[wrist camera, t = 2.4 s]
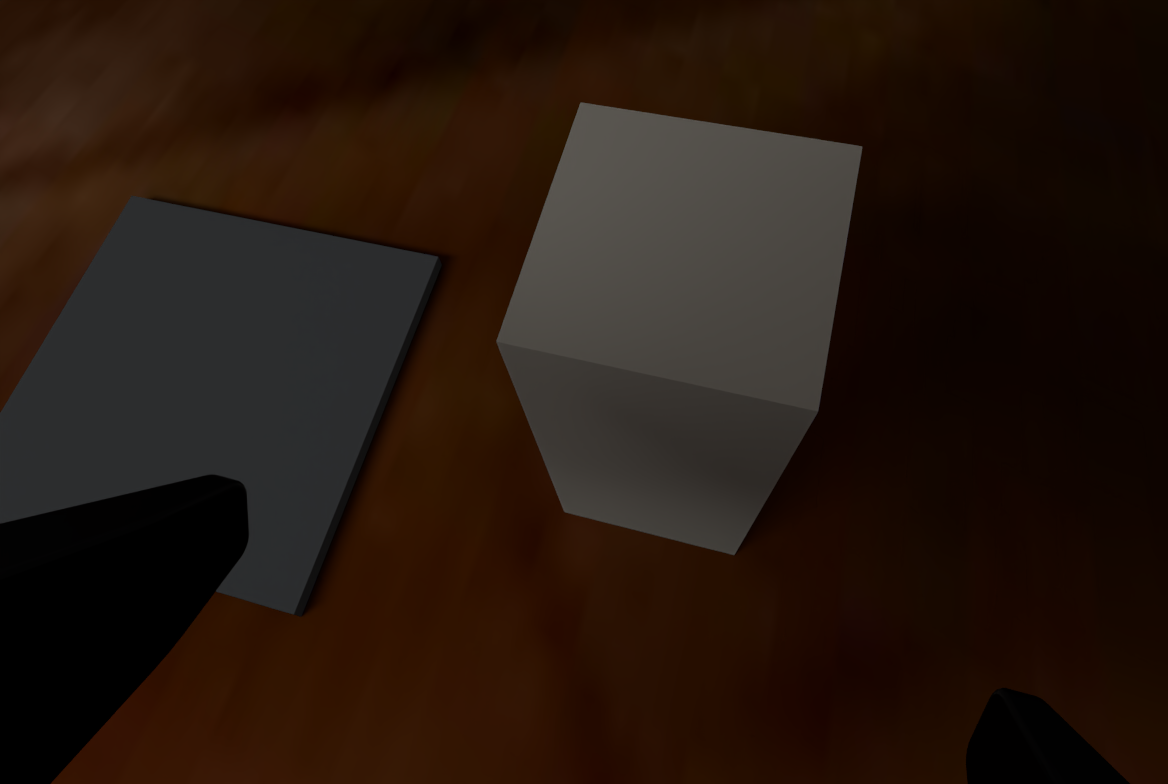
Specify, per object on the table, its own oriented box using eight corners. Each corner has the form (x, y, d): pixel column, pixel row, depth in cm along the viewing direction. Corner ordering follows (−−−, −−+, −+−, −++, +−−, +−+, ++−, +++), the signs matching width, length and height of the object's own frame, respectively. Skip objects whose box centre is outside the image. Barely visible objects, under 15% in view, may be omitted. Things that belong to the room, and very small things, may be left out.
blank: (734, 555, 21) (817, 411, 11) (564, 512, 22) (496, 341, 12) (765, 396, 23) (862, 146, 13) (607, 362, 24) (580, 102, 14)
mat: (301, 616, 21) (293, 614, 21) (-45, 513, 23) (-59, 509, 23) (441, 264, 25) (438, 256, 25) (140, 204, 28) (131, 195, 27)
